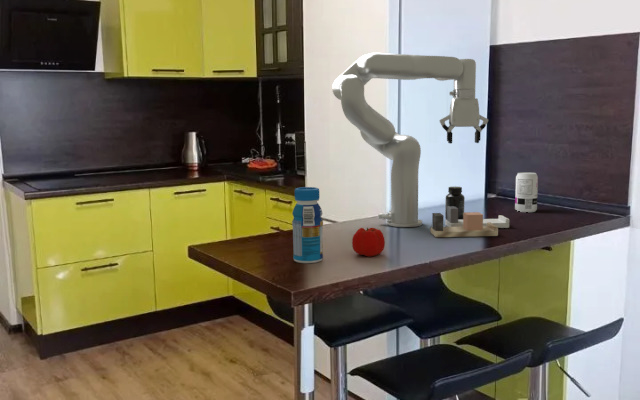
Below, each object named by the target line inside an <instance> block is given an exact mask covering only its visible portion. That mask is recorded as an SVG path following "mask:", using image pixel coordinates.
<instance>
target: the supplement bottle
mask: <svg viewBox="0 0 640 400" xmlns="http://www.w3.org/2000/svg"><path fill="white" fill-rule="evenodd" d="M447 189H448V192H447V193H448V194H446V195H445V211H444V213H445V215H444V218H445V221H446V220H447V206H455V207H456V208H458V220H463V213H464V212H465V201H466V200H465V195H464V194H462V193H463V188H462V187H461V186H448V188H447Z"/></svg>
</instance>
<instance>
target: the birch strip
mask: <svg viewBox="0 0 640 400" xmlns="http://www.w3.org/2000/svg"><path fill="white" fill-rule="evenodd" d="M431 221H432V222H431V223H432V224H431V225H432V226H431V227H430V233H431V234H432V235H433V236H434V237H435V238H455V237H456V238H457V237H458V238H459V237H460V238H461V237H463V238H464V237H465V238H467V237H498V236H499V228H498V227H497V226H496V225H494V224H492V223H491V222H488V223H487V226H483V230H466V229H465V228H463V227H448V226H444V215H443V214H442V213H440V212H432V220H431Z"/></svg>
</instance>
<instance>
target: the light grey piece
mask: <svg viewBox="0 0 640 400" xmlns="http://www.w3.org/2000/svg"><path fill="white" fill-rule="evenodd" d="M488 222H491V223H492V224H494V225H496V226H497V227H498V229H504V228H505V229H508V228H509V229H510V219H509V218H508V217H506V216H504V215H499V214H498V218H483V226H487V223H488ZM445 226H446V227H463V220H458V208H456V207H455V206H447V220H446V219H445Z"/></svg>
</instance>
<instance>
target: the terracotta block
mask: <svg viewBox="0 0 640 400" xmlns="http://www.w3.org/2000/svg"><path fill="white" fill-rule="evenodd" d="M483 219H484V214H483V213H481V212H479V211H474V212H471V211H469V212H465V211H464V213H463V228H465V229H466V230H483Z"/></svg>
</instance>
